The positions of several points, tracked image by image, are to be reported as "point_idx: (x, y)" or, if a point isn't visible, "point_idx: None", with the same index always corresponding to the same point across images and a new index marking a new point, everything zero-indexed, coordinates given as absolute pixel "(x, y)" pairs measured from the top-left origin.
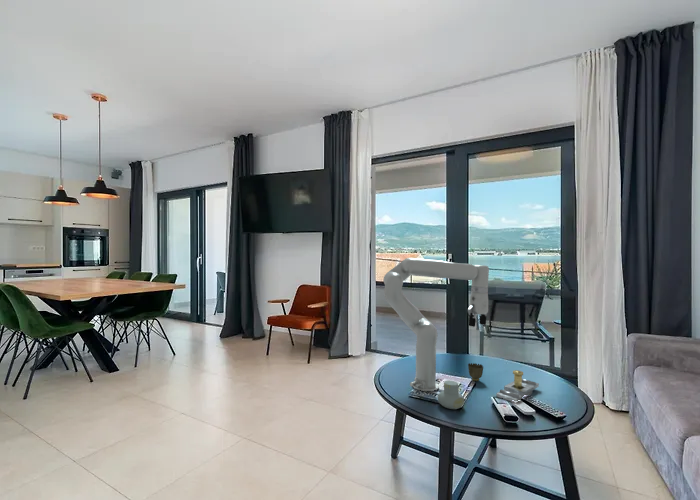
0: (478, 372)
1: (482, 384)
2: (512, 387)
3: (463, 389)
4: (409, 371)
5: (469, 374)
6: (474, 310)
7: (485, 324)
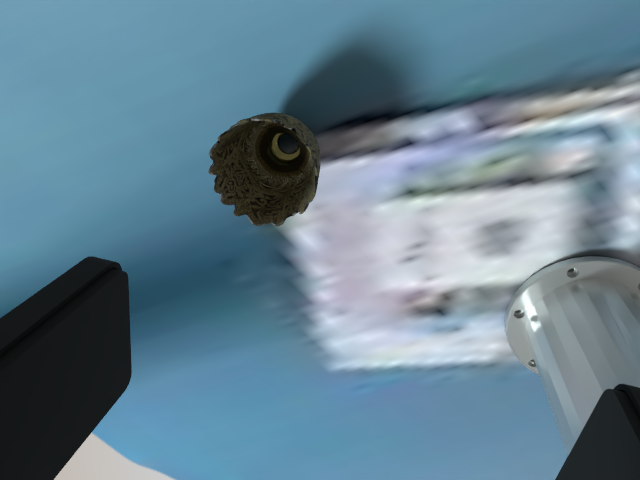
0: (305, 130)
1: (319, 85)
2: None
3: (487, 146)
4: (407, 441)
5: (300, 186)
6: None
7: (108, 262)
